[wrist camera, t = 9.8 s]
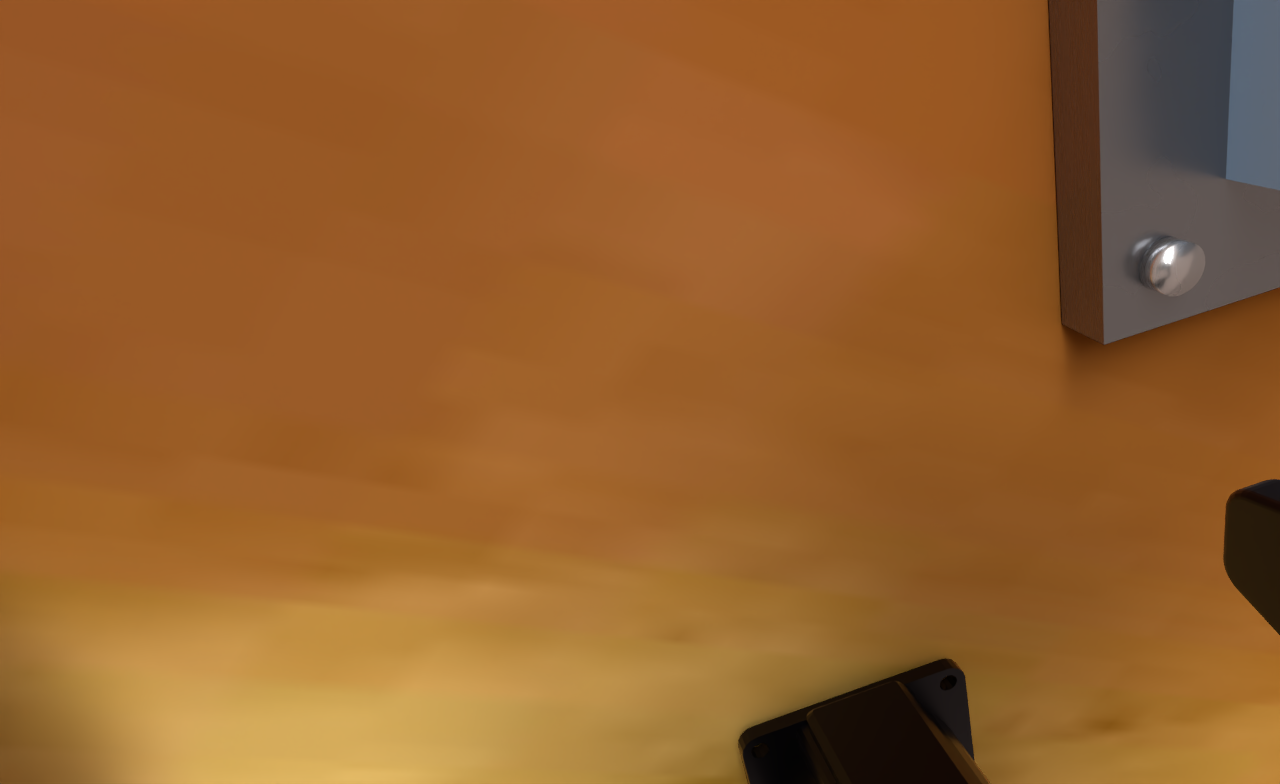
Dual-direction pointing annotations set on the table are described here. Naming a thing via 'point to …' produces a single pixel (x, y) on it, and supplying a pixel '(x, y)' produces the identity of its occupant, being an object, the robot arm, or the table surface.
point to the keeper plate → (1151, 168)
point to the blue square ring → (1255, 94)
